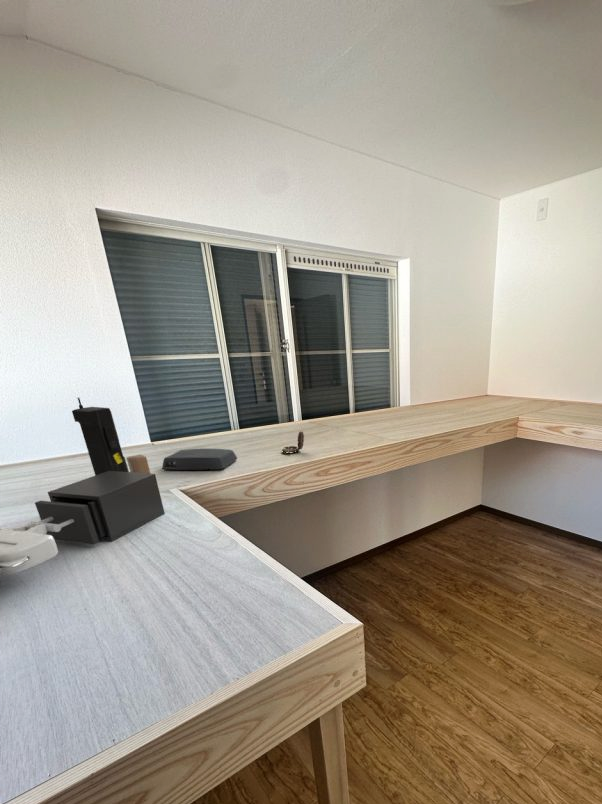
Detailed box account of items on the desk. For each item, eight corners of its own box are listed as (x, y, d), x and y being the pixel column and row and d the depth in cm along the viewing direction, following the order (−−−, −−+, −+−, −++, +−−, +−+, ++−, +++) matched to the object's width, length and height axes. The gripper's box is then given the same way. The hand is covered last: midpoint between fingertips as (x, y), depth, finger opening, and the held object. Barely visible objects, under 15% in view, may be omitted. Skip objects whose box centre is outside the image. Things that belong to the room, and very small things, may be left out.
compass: (284, 449, 149) (281, 429, 146) (306, 449, 149) (304, 429, 146) (278, 455, 142) (275, 434, 139) (301, 455, 141) (298, 434, 138)
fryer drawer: (74, 555, 76) (60, 516, 73) (26, 548, 78) (11, 510, 75) (147, 517, 92) (138, 483, 88) (105, 513, 94) (95, 480, 91)
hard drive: (182, 459, 139) (180, 447, 137) (238, 459, 138) (237, 447, 136) (161, 471, 127) (158, 458, 125) (222, 471, 126) (220, 458, 124)
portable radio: (141, 497, 106) (115, 396, 96) (118, 505, 101) (88, 400, 91) (121, 493, 109) (93, 395, 99) (98, 501, 104) (67, 398, 94)
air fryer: (112, 541, 83) (98, 496, 79) (62, 535, 86) (47, 492, 82) (164, 513, 96) (155, 473, 92) (120, 509, 99) (109, 470, 95)
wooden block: (133, 484, 116) (125, 456, 112) (148, 481, 118) (141, 453, 115) (137, 487, 113) (130, 459, 110) (153, 484, 116) (146, 456, 112)
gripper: (-7, 553, 59) (80, 515, 71) (-106, 540, 64) (-8, 506, 76) (9, 591, 62) (91, 548, 74) (-87, 575, 66) (5, 537, 79)
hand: (40, 527), depth 75 cm, fingers closed, pressing on fryer drawer
